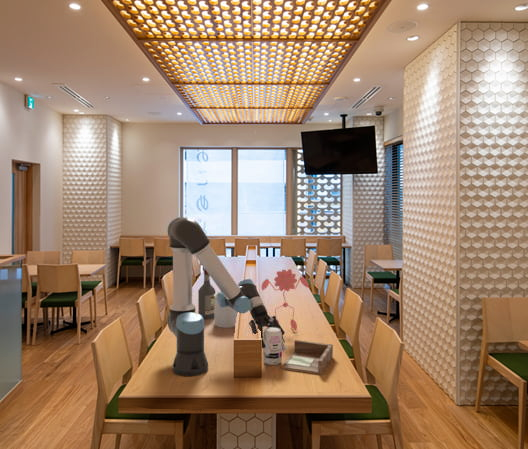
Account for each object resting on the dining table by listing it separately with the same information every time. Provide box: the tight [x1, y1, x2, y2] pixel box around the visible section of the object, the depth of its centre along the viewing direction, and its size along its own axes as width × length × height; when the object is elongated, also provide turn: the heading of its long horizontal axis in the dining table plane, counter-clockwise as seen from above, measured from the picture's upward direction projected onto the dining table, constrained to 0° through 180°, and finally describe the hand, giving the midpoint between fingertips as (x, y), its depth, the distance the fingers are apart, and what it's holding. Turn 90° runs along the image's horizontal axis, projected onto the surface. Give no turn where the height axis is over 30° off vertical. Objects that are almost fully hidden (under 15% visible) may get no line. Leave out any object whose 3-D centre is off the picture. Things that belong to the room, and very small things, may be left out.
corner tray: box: [280, 339, 334, 376], centre depth 203 cm, size 22×18×6 cm
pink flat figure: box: [261, 268, 310, 332], centre depth 246 cm, size 15×26×35 cm, turn 94°
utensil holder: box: [213, 292, 238, 329], centre depth 262 cm, size 15×15×18 cm
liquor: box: [197, 267, 216, 320], centre depth 277 cm, size 9×9×30 cm
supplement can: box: [262, 327, 283, 366], centre depth 203 cm, size 8×8×15 cm
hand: (276, 351), depth 201 cm, fingers closed on supplement can, 8 cm apart
